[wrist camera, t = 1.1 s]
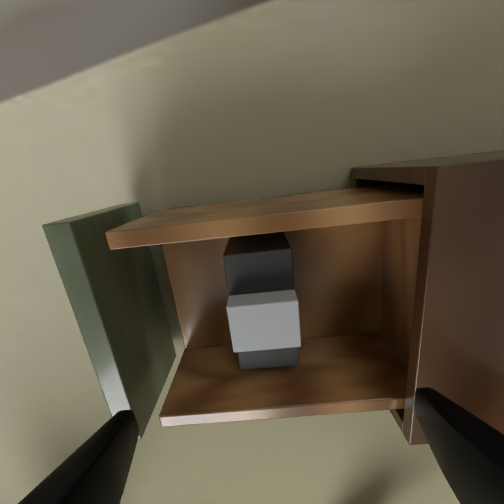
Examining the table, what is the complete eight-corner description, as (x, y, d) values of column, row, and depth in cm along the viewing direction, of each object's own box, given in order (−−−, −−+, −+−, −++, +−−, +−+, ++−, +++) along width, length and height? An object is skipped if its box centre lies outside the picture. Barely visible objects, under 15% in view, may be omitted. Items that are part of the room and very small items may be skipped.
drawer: (147, 358, 21) (98, 443, 14) (103, 206, 17) (12, 228, 11) (382, 337, 20) (443, 417, 13) (391, 173, 16) (480, 175, 10)
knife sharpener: (290, 325, 18) (303, 382, 13) (242, 329, 18) (238, 387, 14) (283, 229, 16) (295, 255, 11) (229, 235, 16) (219, 263, 11)
